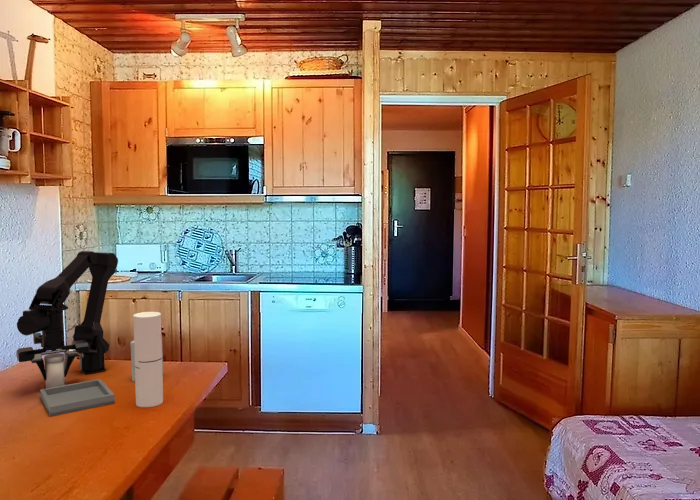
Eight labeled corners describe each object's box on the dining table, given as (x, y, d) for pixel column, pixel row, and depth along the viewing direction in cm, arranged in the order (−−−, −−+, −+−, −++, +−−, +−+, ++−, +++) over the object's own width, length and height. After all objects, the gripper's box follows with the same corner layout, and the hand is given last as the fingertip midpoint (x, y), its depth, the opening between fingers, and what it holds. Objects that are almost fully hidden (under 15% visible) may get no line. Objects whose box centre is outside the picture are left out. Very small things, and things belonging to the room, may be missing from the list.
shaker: (63, 383, 171) (62, 352, 170) (66, 388, 166) (65, 356, 165) (44, 387, 167) (42, 355, 166) (47, 392, 163) (45, 359, 162)
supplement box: (164, 374, 180) (163, 336, 178) (153, 382, 172) (152, 342, 171) (142, 374, 180) (141, 335, 179) (130, 381, 173) (129, 341, 172)
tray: (100, 386, 168) (100, 378, 168) (114, 403, 155) (114, 394, 155) (40, 398, 158) (39, 389, 158) (50, 416, 146) (49, 407, 145)
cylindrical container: (154, 408, 152) (151, 317, 149) (130, 406, 153) (127, 316, 151) (167, 398, 159) (165, 312, 156) (145, 396, 160) (142, 311, 158)
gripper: (81, 318, 177) (83, 366, 179) (12, 326, 166) (15, 377, 167) (89, 325, 168) (91, 375, 170) (17, 333, 157) (20, 387, 159)
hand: (55, 378), depth 167 cm, fingers closed on shaker, 5 cm apart
